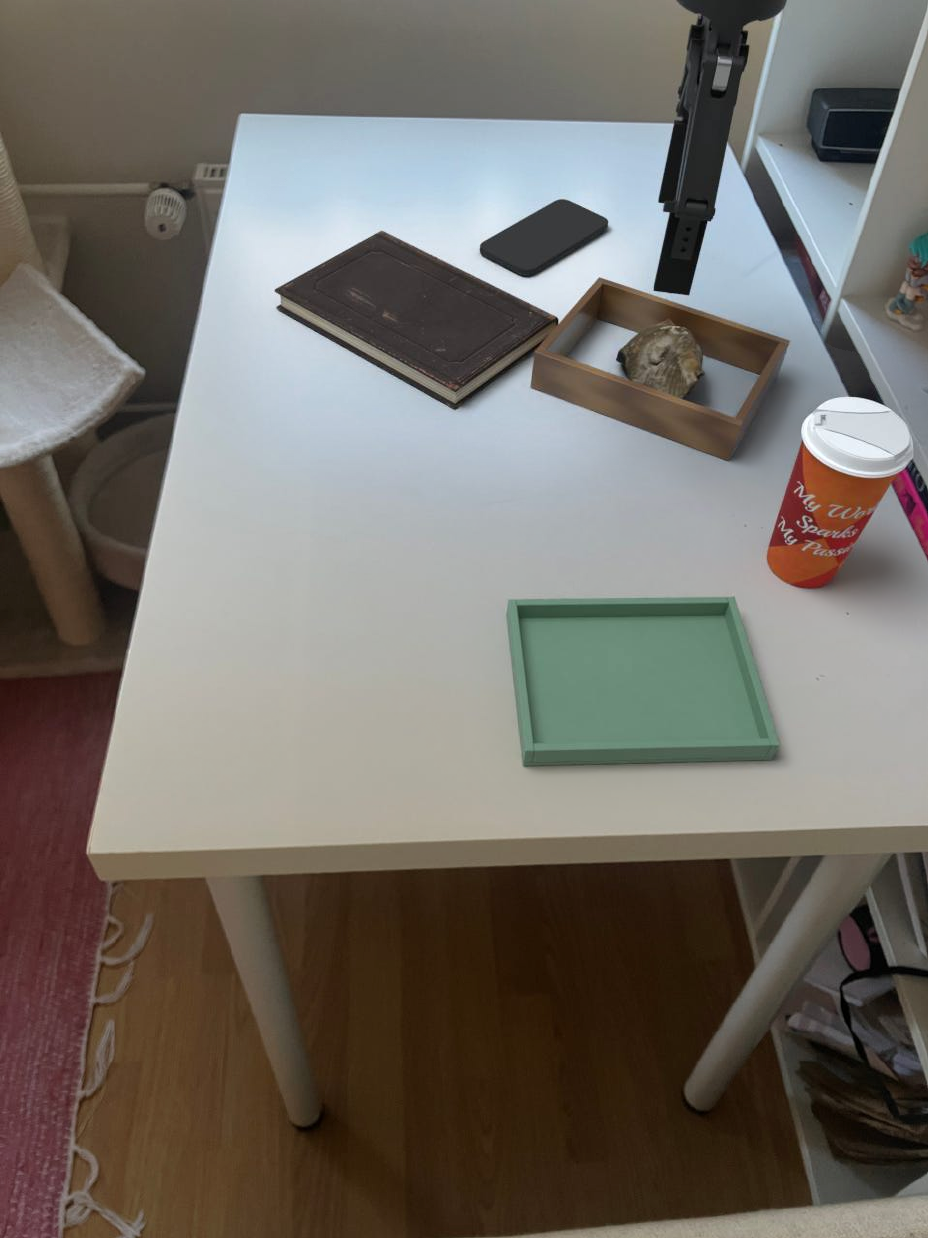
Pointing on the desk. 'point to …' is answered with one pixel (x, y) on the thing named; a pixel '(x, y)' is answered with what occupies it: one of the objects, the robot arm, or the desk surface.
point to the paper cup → (835, 487)
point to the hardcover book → (417, 317)
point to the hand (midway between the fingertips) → (672, 244)
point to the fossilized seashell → (663, 359)
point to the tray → (636, 682)
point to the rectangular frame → (644, 402)
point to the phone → (543, 237)
